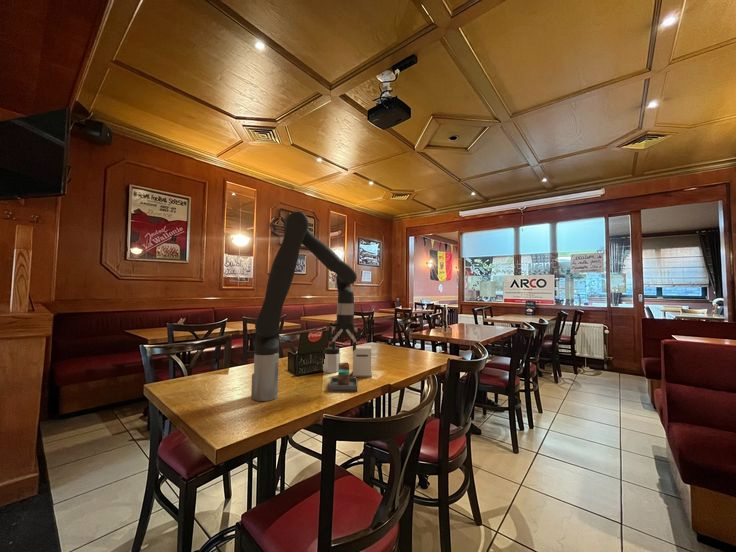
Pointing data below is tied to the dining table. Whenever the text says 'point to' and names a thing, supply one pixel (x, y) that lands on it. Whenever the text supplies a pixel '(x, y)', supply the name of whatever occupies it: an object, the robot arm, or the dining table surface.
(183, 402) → the dining table surface
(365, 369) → the dispenser
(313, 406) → the dining table surface
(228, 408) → the dining table surface
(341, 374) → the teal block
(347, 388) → the tray
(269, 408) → the dining table surface
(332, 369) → the jar
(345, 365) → the rust block
